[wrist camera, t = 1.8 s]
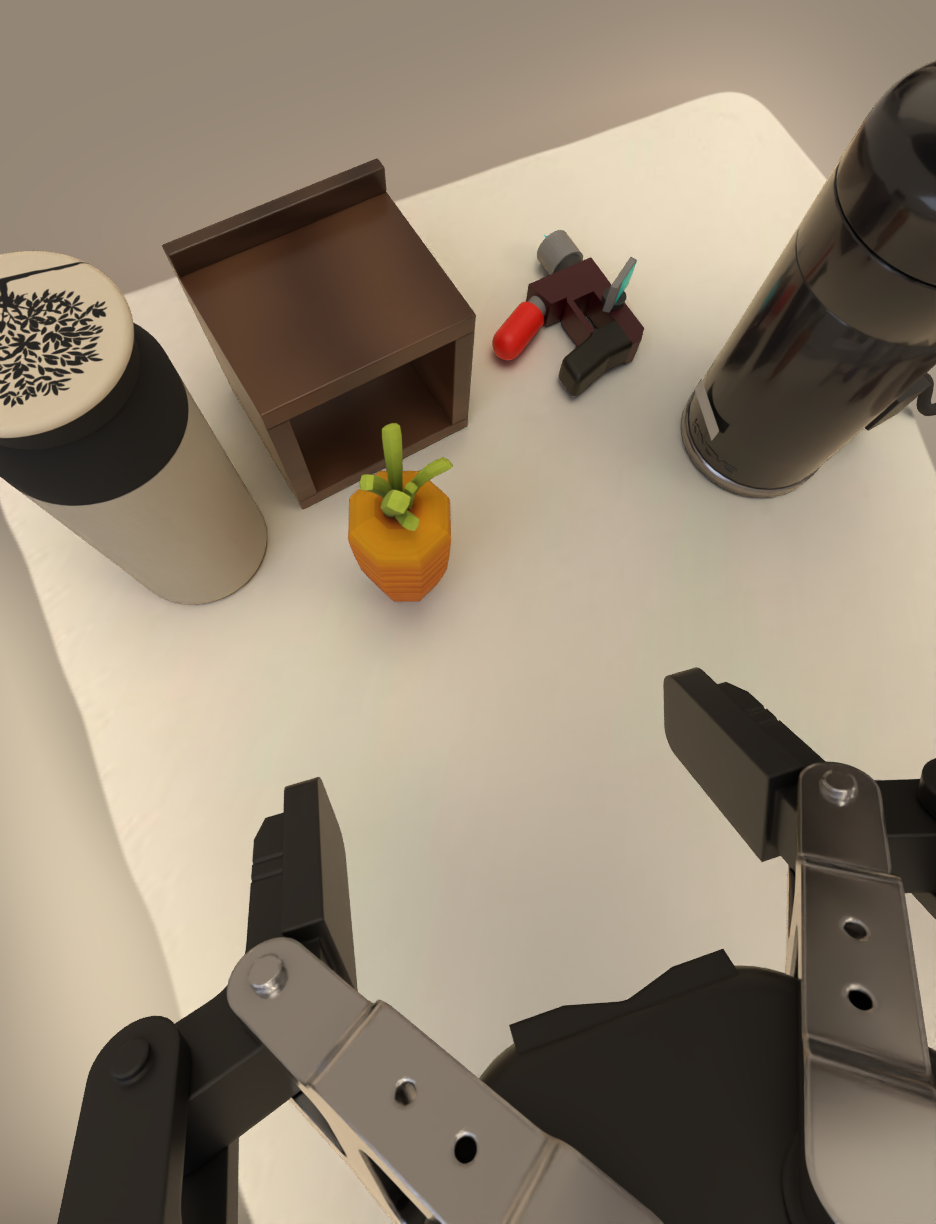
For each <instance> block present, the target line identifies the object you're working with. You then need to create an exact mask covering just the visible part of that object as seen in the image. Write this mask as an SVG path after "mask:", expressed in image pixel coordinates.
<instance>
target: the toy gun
mask: <svg viewBox="0 0 936 1224" xmlns="http://www.w3.org/2000/svg"><path fill="white" fill-rule="evenodd" d="M544 236H545V235H544ZM537 258H538V260H539V261H540V263H541V264H542V265H543V267H544V268H545V270H546V271H547V272H548V274H549V276H547V277H544V278H542V279H540V280H537V281H535V282H533V283H530V284H529V286H528V292H527V298H526V302H522V303H521V304H520V305H519V306H518V307H517V308H516V309H515V311H514V312H513V313H512V314H511V315H510V317H509V318H508V319H507V320H506V321H505V323H504V324H503V325H502V326H501V327H500V329H499V330H498V331H497V332H496V334H495V335H494V337H493V341H492V345H493V350H494V352H495V353H496V355H497V356H498V357H500V358H501V359H504V360H512V359H515V358H516V357H517V356H519V354H520V353H521V352H522V351H523V349H524V348H525V347H526V346H527V344H528V343H529V342H530V341H531V339H532V338H533V337H534V336H535V335H536V333H537V332H538V331H539V330H540V328H541V327H542V326H543V324H544V325H545V326H548V325H550V324H553V323H555V322H557V321H559V320H561V323H562V326H563V327H564V329H565V330H566V331H567V333H568V334H569V336H570V337H571V338H572V340H573V341H574V343H575V344H576V345H577V348H575V349H574V350H573V351H572V352H571V353H569V354H568V355H567V356H566V357H565V358H564V359H563V362H562V365H561V369H560V372H559V379H560V381H561V382H562V384H563V385H564V387H565V388H566V389H567V391H568V392H569V394H570V395H571V396H577V395H578V394H579V393H580V392H581V391H583V390H584V389H585V388H586V387H587V386H588V385H589V384H591V383H592V382H593V381H594V380H595V379H596V378H597V377H599V376H600V375H601V374H602V373H603V372H604V371H606V370H609V369H611V368H613V367H615V366H617V365H619V364H621V363H623V364H627V363H629V362H631V361H632V360H633V358H634V355H635V353H636V351H637V349H638V346H639V344H640V342H641V339H642V335H643V330H644V327H643V326H642V325H641V323H640V322H639V321H638V319H637V318H636V317H635V315H634V314H633V313H632V311H631V310H630V309H629V307H628V306H627V305H626V304H625V300H626V293H625V292H624V290H625V288H626V287H627V285H628V284H629V281H630V278H631V275H632V273H633V270H634V267H635V264H636V262H637V261H636V259H634V258H632V257H630V259H629V260H628V262H627V263H626V265H625V266H624V268H623V269H622V270H621V272H620V273H619V275H618V276H617V278H616V279H615V281H614V282H613V284H612V285H611V284H610V282H609V281H608V280H607V278H606V277H605V275H604V274H603V273H602V271H601V270H600V269H599V267H598V266H597V265H596V263H595V262H594V261H593V259H592V258H591V257H590V258H588V259H586V260H584V261H583V255H582V253H581V252H580V251H579V249H578V248H577V247H576V245H575V244H574V243H573V241H572V240H571V239H570V237H569V236H568V235H567V233H566V232H565V231H563V230H558V231H555V232H553V233H551V234H550V235H548V236H545V239H544V240H543V242H542V243H541V245H540V246H539V249H538V252H537ZM585 314H587V315H588V316H589V318H590V319H591V320H592V322H593V323H594V324H595V326H596V327H597V328H598V329H596V330H595V329H594V328H593V327H592V325H591V324H590V323H589V321H588V320H587V318H586V317H585V316H584V315H585Z"/></svg>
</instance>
